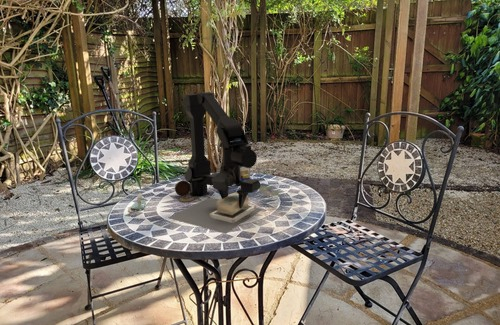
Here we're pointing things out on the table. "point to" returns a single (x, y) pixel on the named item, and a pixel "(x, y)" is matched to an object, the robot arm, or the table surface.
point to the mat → (214, 216)
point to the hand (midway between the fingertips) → (233, 206)
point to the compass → (184, 191)
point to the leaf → (268, 191)
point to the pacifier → (138, 204)
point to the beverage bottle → (245, 172)
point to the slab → (230, 204)
